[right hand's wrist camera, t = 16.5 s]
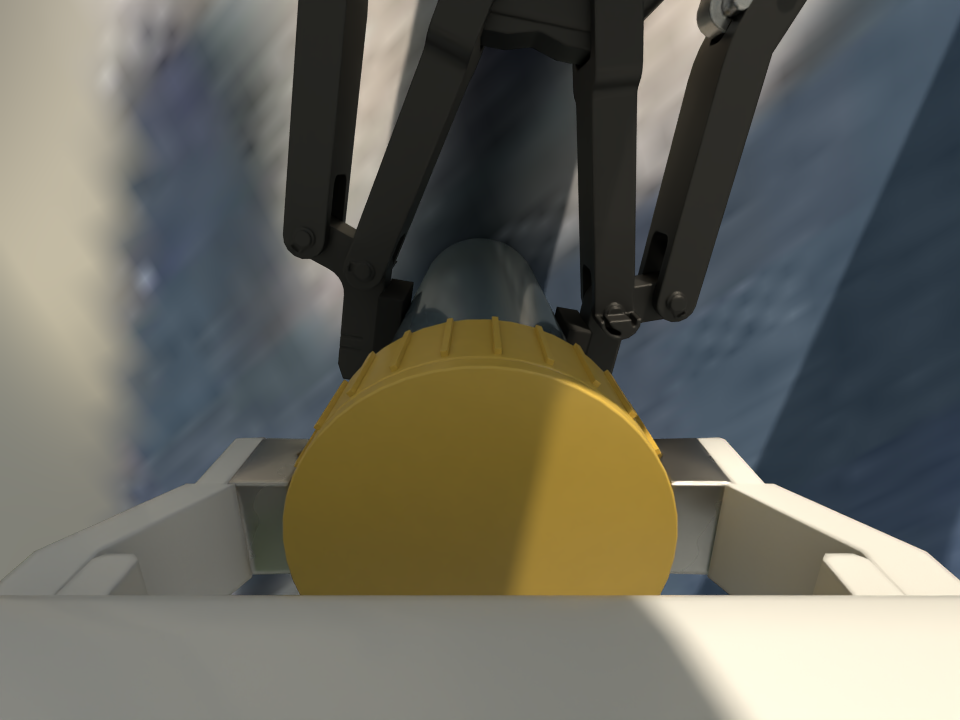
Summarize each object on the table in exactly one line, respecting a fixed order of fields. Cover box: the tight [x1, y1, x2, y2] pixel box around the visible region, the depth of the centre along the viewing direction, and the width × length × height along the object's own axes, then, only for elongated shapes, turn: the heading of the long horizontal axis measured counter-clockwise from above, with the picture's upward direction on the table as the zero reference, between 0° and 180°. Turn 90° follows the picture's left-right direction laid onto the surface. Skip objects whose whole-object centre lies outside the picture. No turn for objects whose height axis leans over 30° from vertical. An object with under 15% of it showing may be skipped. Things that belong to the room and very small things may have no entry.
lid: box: [283, 316, 678, 595], centre depth 9 cm, size 6×6×2 cm
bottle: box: [392, 238, 568, 343], centre depth 16 cm, size 5×5×16 cm
